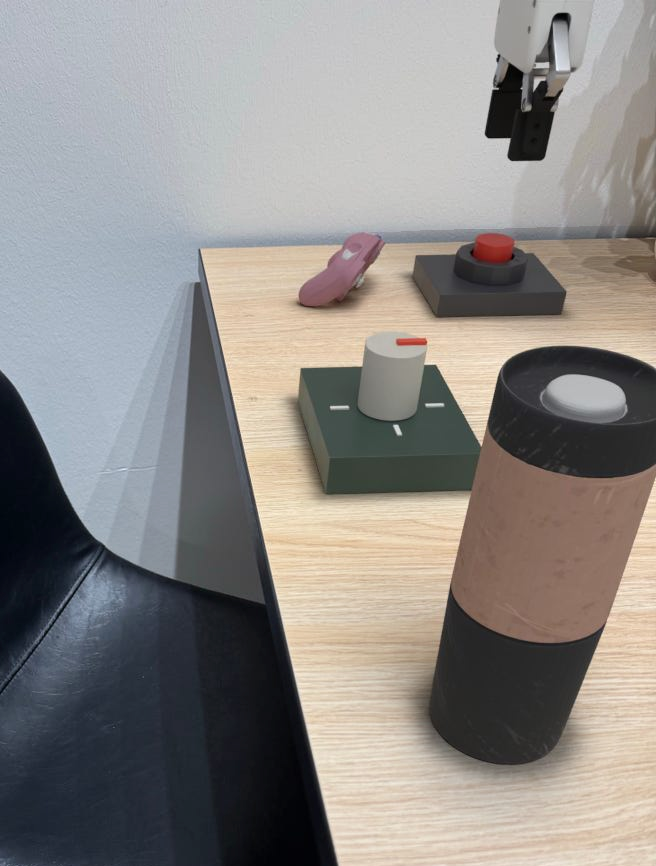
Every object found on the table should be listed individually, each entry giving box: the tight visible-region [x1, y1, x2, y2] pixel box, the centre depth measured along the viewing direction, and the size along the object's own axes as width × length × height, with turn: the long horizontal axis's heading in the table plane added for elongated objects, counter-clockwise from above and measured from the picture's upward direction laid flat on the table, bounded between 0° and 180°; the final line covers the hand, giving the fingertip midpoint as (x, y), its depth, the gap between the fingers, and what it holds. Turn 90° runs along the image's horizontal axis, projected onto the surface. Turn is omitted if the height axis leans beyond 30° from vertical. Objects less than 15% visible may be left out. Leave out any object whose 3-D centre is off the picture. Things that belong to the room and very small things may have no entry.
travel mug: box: [429, 345, 656, 765], centre depth 51 cm, size 8×8×20 cm
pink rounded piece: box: [298, 228, 386, 307], centre depth 100 cm, size 10×5×7 cm, turn 154°
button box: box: [412, 241, 568, 318], centre depth 100 cm, size 12×10×4 cm
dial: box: [358, 331, 428, 421], centre depth 76 cm, size 4×4×5 cm
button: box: [473, 232, 515, 262], centre depth 99 cm, size 4×4×2 cm
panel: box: [297, 364, 482, 495], centre depth 79 cm, size 14×11×3 cm
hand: (513, 146), depth 93 cm, fingers open, 6 cm apart
